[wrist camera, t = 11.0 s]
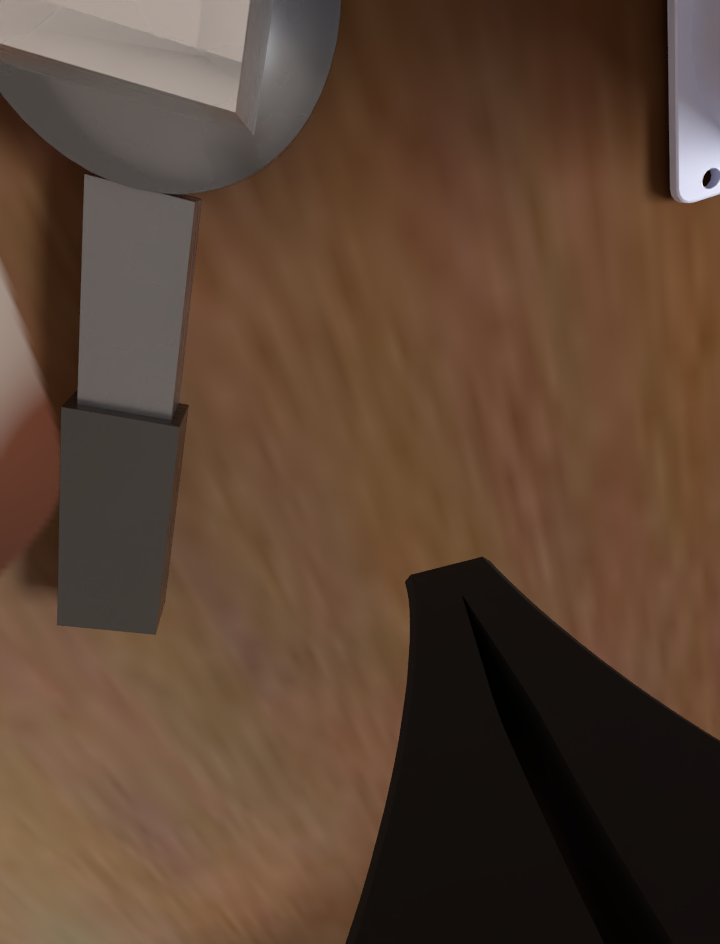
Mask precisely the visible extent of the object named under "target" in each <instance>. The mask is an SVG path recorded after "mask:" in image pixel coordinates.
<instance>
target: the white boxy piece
mask: <svg viewBox="0 0 720 944" xmlns="http://www.w3.org/2000/svg"><path fill="white" fill-rule="evenodd" d="M273 3H274V0H0V61H2V62H4V63H7V64H9V65H12V66H14V67H17V68H19V69H23V70H26V71H29V72H33V73H36V74H40V75H43V76H47V77H50V78H54V79H57V80H61V81H64V82H68V83H71V84H75V85H78V86H82V87H85V88H89V89H92V90H96V91H99V92H103V93H106V94H110V95H113V96H117V97H120V98H124V99H127V100H131V101H134V102H138V103H141V104H145V105H148V106H152V107H155V108H159V109H162V110H166V111H169V112H173V113H176V114H179V115H183V116H186V117H190V118H193V119H197V120H200V121H204V122H207V123H211V124H214V125H218V126H221V127H225V128H228V129H232V130H235V131H239V132H242V133H246V134H249V135H253V136H254V134H255V127H256V121H257V114H258V107H259V100H260V93H261V86H262V79H263V72H264V65H265V59H266V52H267V45H268V38H269V31H270V24H271V17H272V10H273Z"/></svg>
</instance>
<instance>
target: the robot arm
mask: <svg viewBox="0 0 720 944" xmlns="http://www.w3.org/2000/svg"><path fill="white" fill-rule="evenodd" d="M667 11H668V82H669V153H670V191H671V196H672V197H673V198H674V200H675V201H678V202H680V203H693V202H696V201H699V200H703V199H706V198H709V197H712V196H715V195H718V194H720V0H667ZM708 170H710V172H711V179H710V182H709V183H708V185H707V186H705V187H704V186H703V183H702V180H703V176H704V174H705V173H706V172H707V171H708ZM405 584H406V588H407V592H408V598H409V608H410V646H409V661H408V676H407V686H406V694H405V701H404V708H403V715H402V722H401V729H400V736H399V742H398V747H397V752H396V758H395V763H394V768H393V773H392V778H391V782H390V787H389V791H388V796H387V800H386V805H385V809H384V813H383V817H382V821H381V825H380V829H379V832H378V836H377V840H376V844H375V848H374V852H373V855H372V859H371V863H370V867H369V870H368V874H367V877H366V881H365V884H364V888H363V891H362V894H361V898H360V901H359V904H358V907H357V910H356V913H355V916H354V919H353V923H352V926H351V929H350V932H349V935H348V938H347V941H346V944H720V740H718V739H716V738H715V737H713V736H711V735H710V734H708V733H707V732H705V731H703V730H702V729H700V728H699V727H697V726H696V725H694V724H693V723H691V722H689V721H688V720H686V719H685V718H683V717H682V716H680V715H679V714H677V713H676V712H674V711H672V710H671V709H669V708H668V707H666V706H665V705H664V704H662V703H661V702H659V701H658V700H656V699H655V698H653V697H652V696H650V695H649V694H648V693H646V692H645V691H643V690H642V689H640V688H639V687H638V686H636V685H635V684H633V683H632V682H631V681H629V680H628V679H627V678H625V677H624V676H623V675H621V674H620V673H618V672H617V671H616V670H614V669H613V668H612V667H610V666H609V665H608V664H606V663H605V662H604V661H602V660H601V659H600V658H598V657H597V656H596V655H595V654H593V653H592V652H591V651H589V650H588V649H587V648H586V647H584V646H583V645H582V644H581V643H579V642H578V641H577V640H576V639H575V638H573V637H572V636H571V635H570V634H569V633H567V632H566V631H565V630H564V629H563V628H561V627H560V626H559V625H558V624H556V623H555V622H554V621H553V620H552V619H550V618H549V617H548V616H547V615H546V614H545V613H544V612H542V611H541V610H540V609H539V608H538V607H537V606H536V605H535V604H533V603H532V602H531V601H530V600H529V599H528V598H527V597H526V596H525V595H524V594H523V593H521V592H520V591H519V590H518V589H517V588H516V587H515V586H514V585H513V584H512V583H511V582H510V581H509V580H508V579H507V578H506V577H505V576H504V575H503V574H502V573H501V572H500V571H499V570H498V569H497V568H496V567H495V566H494V565H493V564H492V563H491V562H490V561H489V560H487V559H485V558H484V557H480V558H476V559H472V560H468V561H464V562H460V563H456V564H452V565H448V566H444V567H440V568H436V569H432V570H428V571H424V572H420V573H416V574H412V575H410V576H409V578H408V579H407V580H406V582H405Z"/></svg>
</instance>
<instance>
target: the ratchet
mask: <svg viewBox="0 0 720 944" xmlns="http://www.w3.org/2000/svg"><path fill="white" fill-rule="evenodd" d="M340 13H341V0H274V3H273V10H272V17H271V24H270V31H269V38H268V45H267V52H266V59H265V65H264V72H263V79H262V86H261V93H260V100H259V107H258V114H257V121H256V127H255V134H254V136H253V135H249V134H246V133H242V132H239V131H235V130H232V129H228V128H225V127H221V126H218V125H214V124H211V123H207V122H204V121H200V120H197V119H193V118H190V117H186V116H183V115H179V114H176V113H173V112H169V111H166V110H162V109H159V108H155V107H152V106H148V105H145V104H141V103H138V102H134V101H131V100H127V99H124V98H120V97H117V96H113V95H110V94H106V93H103V92H99V91H96V90H92V89H89V88H85V87H82V86H78V85H75V84H71V83H68V82H64V81H61V80H57V79H54V78H50V77H47V76H43V75H40V74H36V73H33V72H29V71H26V70H23V69H19V68H17V67H14V66H12V65H9V64H7V63H4V62H2V61H0V93H1V94H2V96H3V97H4V98H5V99H6V101H7V102H8V103H9V104H10V105H11V106H12V108H13V109H14V110H15V111H16V112H17V113H18V115H19V116H20V117H21V118H22V119H23V120H24V121H25V122H26V123H27V124H28V125H29V126H30V127H31V128H32V129H33V130H34V131H35V132H36V133H37V134H38V135H39V136H40V137H42V138H43V139H44V140H45V141H46V142H47V143H49V144H50V145H51V146H53V147H54V148H55V149H56V150H58V151H59V152H60V153H62V154H63V155H64V156H65V157H67V158H69V159H70V160H72V161H73V162H75V163H77V164H78V165H80V166H82V167H83V168H85V169H87V170H88V171H90V172H92V173H94V174H84V203H83V236H82V268H81V300H80V332H79V364H78V390H77V391H76V392H75V393H74V394H73V395H72V396H71V397H70V398H69V399H68V400H67V401H66V402H65V403H64V405H63V406H62V407H61V445H60V500H59V555H58V609H57V625H61V626H71V627H82V628H92V629H103V630H113V631H123V632H134V633H144V634H155V635H156V632H157V628H158V624H159V621H160V617H161V614H162V610H163V606H164V603H165V597H166V589H167V580H168V572H169V564H170V556H171V547H172V539H173V531H174V522H175V514H176V506H177V498H178V489H179V481H180V473H181V465H182V456H183V448H184V440H185V431H186V423H187V415H188V407H189V405H185V404H180V403H179V398H180V390H181V381H182V372H183V363H184V354H185V345H186V336H187V327H188V319H189V310H190V301H191V292H192V283H193V274H194V265H195V256H196V248H197V239H198V230H199V221H200V212H201V203H202V200H201V199H197V198H193V197H189V196H185V195H181V194H190V193H200V192H206V191H210V190H214V189H218V188H222V187H226V186H230V185H233V184H235V183H237V182H240V181H242V180H245V179H247V178H249V177H251V176H252V175H254V174H256V173H257V172H259V171H261V170H262V169H264V168H266V167H267V166H268V165H269V164H270V163H272V162H273V161H274V160H275V159H277V158H278V157H279V156H280V155H281V154H282V153H283V152H284V151H285V150H286V149H287V148H288V146H289V145H290V144H291V143H292V142H293V141H294V140H295V138H296V137H297V136H298V134H299V133H300V131H301V130H302V128H303V127H304V125H305V124H306V122H307V121H308V119H309V117H310V115H311V113H312V111H313V109H314V107H315V105H316V103H317V101H318V99H319V97H320V95H321V92H322V89H323V87H324V84H325V81H326V79H327V76H328V73H329V71H330V67H331V63H332V59H333V55H334V51H335V47H336V43H337V36H338V28H339V21H340Z"/></svg>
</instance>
